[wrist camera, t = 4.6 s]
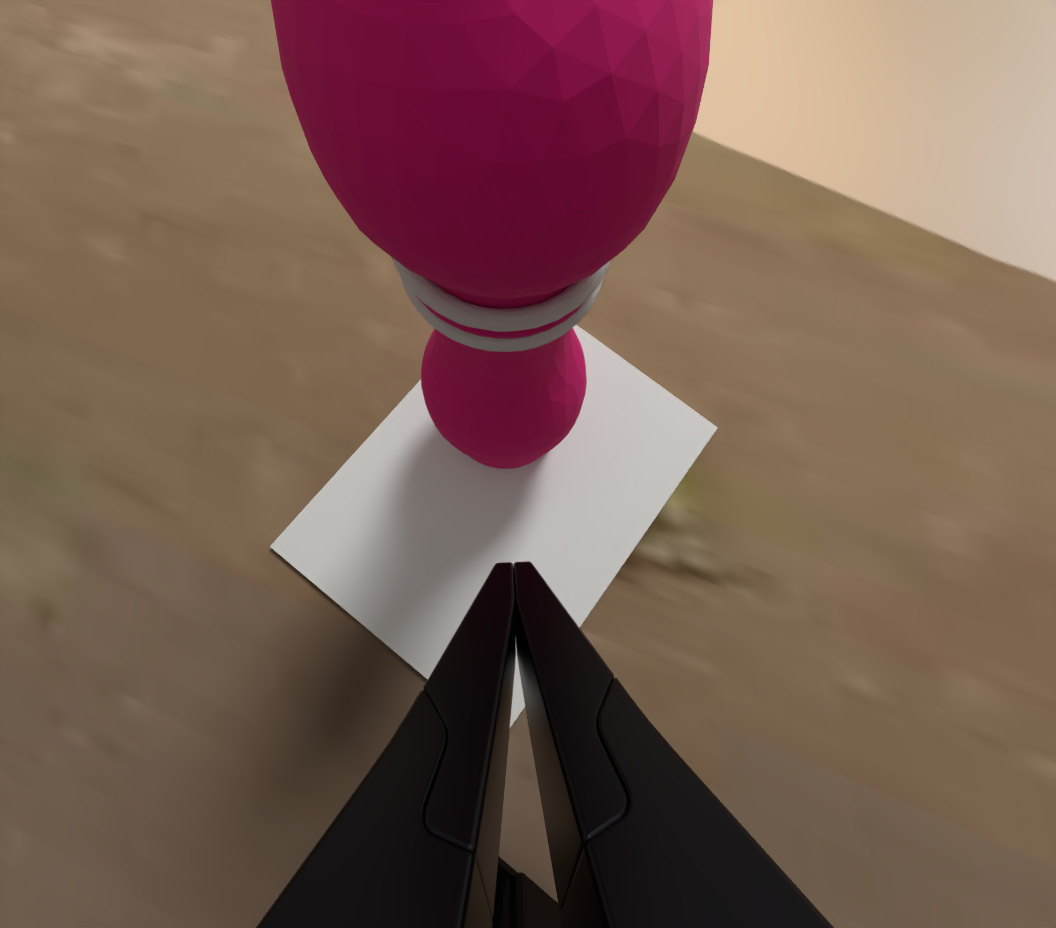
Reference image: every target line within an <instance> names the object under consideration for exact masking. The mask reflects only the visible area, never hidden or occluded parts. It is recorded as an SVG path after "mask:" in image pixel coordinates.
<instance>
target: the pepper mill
mask: <svg viewBox="0 0 1056 928" xmlns="http://www.w3.org/2000/svg"><path fill="white" fill-rule="evenodd" d="M271 4H272V10H273V16H274V22H275V28H276V35H277V41H278V47H279V53H280V59H281V66H282V70H283V73H284V76H285V79H286V83H287V86H288V89H289V93H290V96H291V99H292V102H293V104H294V107H295V110H296V112H297V115H298V118H299V121H300V123H301V126H302V129H303V131H304V134H305V137H306V139H307V142H308V145H309V147H310V150H311V152H312V154H313V156H314V158H315V160H316V162H317V164H318V166H319V168H320V170H321V172H322V174H323V176H324V178H325V179H326V181H327V182H328V184H329V186H330V187H331V189H332V191H333V192H334V194H335V195H336V197H337V199H338V200H339V201H340V203H341V204H342V206H343V207H344V208H345V210H346V211H347V213H348V214H349V216H350V217H351V218H352V220H353V221H354V223H355V224H356V225H357V227H358V228H359V230H360V231H361V232H363V233H364V234H365V235H366V236H367V237H368V238H369V239H370V240H371V241H372V242H373V243H375V244H376V245H377V246H378V247H380V248H381V249H382V250H384V251H385V252H386V253H387V254H389V255H390V256H391V257H392V259H393V261H394V264H395V266H396V268H397V270H398V271H399V273H400V276H401V279H402V283H403V286H404V289H405V291H406V293H407V295H408V296H409V298H410V300H411V302H412V303H413V305H414V306H415V307H416V309H417V310H418V312H419V313H420V314H421V315H422V316H423V317H424V318H425V319H426V320H427V322H428V323H429V324H431V325H432V326H433V327H434V328H435V329H434V331H433V332H432V334H431V336H430V338H429V341H428V343H427V345H426V348H425V352H424V356H423V361H422V369H421V387H422V392H423V396H424V400H425V404H426V407H427V410H428V412H429V415H430V417H431V419H432V421H433V423H434V425H435V427H436V428H437V429H438V431H439V432H440V433H441V435H442V436H443V437H444V438H445V439H446V440H447V441H448V442H449V443H450V444H451V445H452V446H454V447H455V448H457V449H458V450H460V451H461V452H463V453H464V454H466V455H468V456H470V457H471V458H472V459H474V460H475V461H477V462H479V463H481V464H483V465H486V466H489V467H493V468H500V469H510V468H517V467H522V466H524V465H527V464H530V463H532V462H533V461H535V460H537V459H538V458H540V457H541V456H542V455H543V454H545V453H547V452H549V451H550V450H551V449H553V448H554V447H555V446H557V445H558V444H559V443H560V442H561V441H562V440H563V439H564V438H565V437H566V436H567V435H568V434H569V432H570V431H571V429H572V428H573V426H574V425H575V423H576V420H577V418H578V416H579V414H580V411H581V407H582V404H583V401H584V397H585V393H586V384H587V377H586V365H585V357H584V353H583V349H582V346H581V343H580V341H579V339H578V337H577V335H576V333H575V331H574V329H573V327H574V326H575V325H576V324H578V323H579V322H580V321H581V320H582V318H583V317H584V316H585V315H586V314H587V312H588V311H589V310H590V308H591V307H592V305H593V303H594V301H595V299H596V298H597V296H598V293H599V290H600V288H601V285H602V280H603V277H604V275H605V274H606V272H607V269H608V267H609V264H610V261H611V259H613V258H614V257H615V256H616V255H618V254H619V253H620V252H621V251H623V250H624V249H625V248H626V247H627V246H628V245H629V244H630V243H631V242H632V241H633V240H634V239H635V238H636V237H637V236H638V235H639V234H640V233H641V232H642V231H643V230H644V229H645V227H646V225H647V224H648V222H649V220H650V219H651V217H652V216H653V214H654V212H655V211H656V209H657V207H658V206H659V204H660V203H661V201H662V199H663V198H664V196H665V194H666V193H667V191H668V190H669V188H670V186H671V185H672V183H673V181H674V180H675V177H676V174H677V172H678V169H679V166H680V163H681V161H682V158H683V155H684V153H685V150H686V147H687V144H688V142H689V139H690V136H691V134H692V131H693V128H694V125H695V123H696V119H697V114H698V110H699V106H700V101H701V96H702V92H703V88H704V83H705V79H706V74H707V70H708V65H709V52H710V37H711V22H712V8H713V0H271Z"/></svg>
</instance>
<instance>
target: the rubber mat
mask: <svg viewBox="0 0 1056 928" xmlns="http://www.w3.org/2000/svg"><path fill="white" fill-rule="evenodd" d="M573 329H574V331H575V333H576V335H577V337H578V339H579V341H580V343H581V346H582V349H583V353H584V357H585V365H586V377H587V384H586V393H585V397H584V401H583V404H582V407H581V411H580V414H579V416H578V418H577V420H576V423H575V425H574V426H573V428H572V429H571V431H570V432H569V434H568V435H567V436H566V437H565V438H564V439H563V440H562V441H561V442H560V443H559V444H558V445H557V446H555V447H554V448H553V449H551V450H550V451H549V452H547V453H545V454H543V455H542V456H541V457H540V458H538V459H537V460H535V461H533V462H532V463H530V464H527V465H524V466H522V467H517V468H510V469H500V468H493V467H489V466H486V465H483V464H481V463H479V462H477V461H475V460H474V459H472V458H471V457H470V456H468V455H466V454H464V453H463V452H461V451H460V450H458V449H457V448H455V447H454V446H452V445H451V444H450V443H449V442H448V441H447V440H446V439H445V438H444V437H443V436H442V435H441V433H440V432H439V431H438V429H437V428H436V427H435V425H434V423H433V421H432V419H431V417H430V415H429V412H428V410H427V407H426V404H425V400H424V396H423V392H422V387H421V380H420V381H419V382H418V383H417V384H416V385H415V386H414V388H413V389H412V390H411V391H410V392H409V393H408V394H407V395H406V396H405V398H404V399H403V400H402V401H401V402H400V403H399V404H398V405H397V406H396V408H395V409H394V410H393V411H392V412H391V413H390V414H389V415H388V416H387V417H386V419H385V420H384V421H383V422H382V423H381V424H380V425H379V426H378V427H377V429H376V430H375V431H374V432H373V433H372V434H371V435H370V436H369V437H368V439H367V440H366V441H365V442H364V443H363V444H362V445H361V446H360V447H359V448H358V450H357V451H356V452H355V453H354V454H353V455H352V456H351V457H350V458H349V460H348V461H347V462H346V463H345V464H344V465H343V466H342V467H341V468H340V469H339V471H338V472H337V473H336V474H335V475H334V476H333V477H332V478H331V479H330V481H329V482H328V483H327V484H326V485H325V486H324V487H323V488H322V489H321V491H320V492H319V493H318V494H317V495H316V496H315V497H314V498H313V499H312V500H311V502H310V503H309V504H308V505H307V506H306V507H305V508H304V509H303V510H302V512H301V513H300V514H299V515H298V516H297V517H296V518H295V519H294V520H293V522H292V523H291V524H290V525H289V526H288V527H287V528H286V529H285V530H284V531H283V533H282V534H281V535H280V536H279V537H278V538H277V539H276V540H275V541H274V543H273V544H272V545H271V546H270V547H271V548H272V549H273V550H274V551H276V552H277V553H278V554H279V555H280V556H282V557H283V558H284V559H285V560H286V561H288V562H289V563H290V564H291V565H292V566H293V567H295V568H296V569H297V570H298V571H299V572H301V573H302V574H303V575H304V576H305V577H307V578H308V579H309V580H310V581H311V582H312V583H314V584H315V585H316V586H317V587H318V588H320V589H321V590H322V591H323V592H324V593H326V594H327V595H328V596H329V597H330V598H331V599H333V600H334V601H335V602H336V603H337V604H339V605H340V606H341V607H342V608H343V609H344V610H346V611H347V612H348V613H349V614H350V615H352V616H353V617H354V618H355V619H356V620H358V621H359V622H360V623H361V624H362V625H363V626H365V627H366V628H367V629H368V630H369V631H371V632H372V633H373V634H374V635H375V636H377V637H378V638H379V639H380V640H381V641H382V642H384V643H385V644H386V645H387V646H388V647H390V648H391V649H392V650H393V651H394V652H396V653H397V654H398V655H399V656H400V657H401V658H403V659H404V660H405V661H406V662H407V663H409V664H410V665H411V666H412V667H413V668H414V669H416V670H417V671H418V672H419V673H420V674H422V675H423V676H424V677H425V678H426V679H428V678H429V677H430V675H431V673H432V671H433V670H434V668H435V666H436V665H437V663H438V661H439V659H440V658H441V656H442V654H443V653H444V651H445V649H446V647H447V646H448V644H449V642H450V640H451V639H452V637H453V635H454V634H455V632H456V630H457V628H458V627H459V625H460V623H461V622H462V620H463V618H464V616H465V615H466V613H467V611H468V610H469V608H470V606H471V604H472V603H473V601H474V599H475V598H476V596H477V594H478V592H479V591H480V589H481V587H482V585H483V584H484V582H485V580H486V579H487V577H488V575H489V573H490V572H491V570H492V568H493V567H494V565H495V564H496V563H502V562H511V563H513V568H514V563H515V562H525V561H530V562H531V563H532V564H533V565H534V566H535V568H536V569H537V570H538V572H539V573H540V575H541V576H542V577H543V579H544V580H545V581H546V583H547V584H548V585H549V587H550V588H551V590H552V591H553V592H554V594H555V595H556V596H557V598H558V599H559V601H560V602H561V603H562V605H563V606H564V607H565V609H566V610H567V611H568V613H569V614H570V616H571V617H572V618H573V620H574V621H575V622H576V624H577V625H578V627H579V628H580V626H581V625H582V623H583V622H584V620H585V619H586V617H587V616H588V615H589V613H590V612H591V610H592V609H593V607H594V606H595V604H596V603H597V602H598V600H599V599H600V597H601V596H602V594H603V593H604V591H605V590H606V589H607V587H608V586H609V584H610V583H611V581H612V580H613V578H614V577H615V575H616V574H617V573H618V571H619V570H620V568H621V567H622V565H623V564H624V562H625V561H626V560H627V558H628V557H629V555H630V554H631V552H632V551H633V549H634V548H635V547H636V545H637V544H638V542H639V541H640V539H641V538H642V536H643V535H644V534H645V532H646V531H647V529H648V528H649V526H650V525H651V523H652V522H653V521H654V519H655V518H656V516H657V515H658V513H659V512H660V510H661V509H662V508H663V506H664V505H665V503H666V502H667V500H668V499H669V497H670V496H671V495H672V493H673V492H674V490H675V489H676V487H677V486H678V484H679V483H680V481H681V480H682V479H683V477H684V476H685V474H686V473H687V471H688V470H689V468H690V467H691V466H692V464H693V463H694V461H695V460H696V458H697V457H698V455H699V454H700V453H701V451H702V450H703V448H704V447H705V445H706V444H707V442H708V441H709V440H710V438H711V437H712V435H713V434H714V432H715V431H716V429H717V427H716V426H715V425H713V424H712V423H711V422H709V421H708V420H706V419H705V418H704V417H702V416H701V415H700V414H698V413H697V412H695V411H694V410H693V409H691V408H690V407H689V406H687V405H686V404H684V403H683V402H682V401H680V400H679V399H678V398H676V397H675V396H673V395H672V394H671V393H669V392H668V391H667V390H665V389H664V388H662V387H661V386H660V385H658V384H657V383H656V382H654V381H653V380H651V379H650V378H649V377H647V376H646V375H645V374H643V373H642V372H640V371H639V370H638V369H636V368H635V367H634V366H632V365H631V364H629V363H628V362H627V361H625V360H624V359H623V358H621V357H620V356H618V355H617V354H616V353H614V352H613V351H612V350H610V349H609V348H608V347H606V346H605V345H603V344H602V343H601V342H599V341H598V340H597V339H595V338H594V337H592V336H591V335H590V334H588V333H587V332H586V331H584V330H583V329H581V328H580V327H579V326H577V325H575V326H574V327H573ZM524 707H525V702H524V696H523V690H522V684H521V678H520V672H519V666H518V659H517V650H516V661H515V673H514V685H513V696H512V708H511V719H510V727H511V726H512V724H513V723H514V722H515V720H516V719H517V717H518V716H519V714H520V713H521V711H522V710H523V709H524Z"/></svg>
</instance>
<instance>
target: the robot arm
mask: <svg viewBox="0 0 1056 928" xmlns="http://www.w3.org/2000/svg"><path fill="white" fill-rule="evenodd" d="M516 650H517V659H518V666H519V672H520V678H521V684H522V690H523V696H524V702H525V708H526V714H527V720H528V726H529V731H530V737H531V743H532V749H533V755H534V761H535V767H536V773H537V779H538V785H539V791H540V797H541V803H542V809H543V815H544V820H545V826H546V832H547V838H548V844H549V850H550V856H551V862H552V868H553V874H554V880H555V886H556V892H557V898H558V903H557V902H556V901H555V900H554V899H552V898H551V897H550V896H549V895H548V894H547V893H546V892H544V891H543V890H542V889H541V888H540V887H539V886H538V885H536V884H535V883H534V882H533V881H532V880H531V879H529V878H528V877H527V876H526V875H525V874H524V873H519V872H516V871H515V870H514V869H513V868H512V867H510V866H509V865H508V864H507V863H506V862H505V861H503V860H502V859H501V858H500V857H499V844H500V833H501V821H502V810H503V799H504V787H505V776H506V765H507V753H508V742H509V730H510V719H511V708H512V696H513V685H514V673H515V661H516ZM256 928H834V927H833V926H832V925H831V924H830V923H829V922H828V921H827V919H826V918H825V917H824V916H823V915H822V914H821V913H820V912H819V911H818V909H817V908H816V907H815V906H814V905H813V904H812V903H811V902H810V901H809V899H808V898H807V897H806V896H805V895H804V894H803V893H802V892H801V891H800V889H799V888H798V887H797V886H796V885H795V884H794V883H793V882H792V881H791V879H790V878H789V877H788V876H787V875H786V874H785V873H784V872H783V871H782V869H781V868H780V867H779V866H778V865H777V864H776V863H775V862H774V861H773V859H772V858H771V857H770V856H769V855H768V854H767V853H766V852H765V850H764V849H763V848H762V847H761V846H760V845H759V844H758V843H757V842H756V840H755V839H754V838H753V837H752V836H751V835H750V834H749V833H748V832H747V830H746V829H745V828H744V827H743V826H742V825H741V824H740V823H739V822H738V820H737V819H736V818H735V817H734V816H733V815H732V814H731V813H730V812H729V810H728V809H727V808H726V807H725V806H724V805H723V804H722V803H721V802H720V800H719V799H718V798H717V797H716V796H715V795H714V794H713V793H712V792H711V790H710V789H709V788H708V787H707V786H706V785H705V784H704V783H703V782H702V780H701V779H700V778H699V777H698V776H697V775H696V774H695V773H694V771H693V770H692V769H691V768H690V767H689V766H688V765H687V764H686V763H685V761H684V760H683V759H682V758H681V757H680V756H679V755H678V754H677V753H676V751H675V750H674V749H673V748H672V747H671V746H670V745H669V743H668V742H667V741H666V740H665V739H664V738H663V736H662V735H661V734H660V733H659V732H658V731H657V729H656V728H655V727H654V726H653V725H652V724H651V722H650V721H649V720H648V719H647V717H646V716H645V715H644V714H643V712H642V711H641V710H640V708H639V707H638V706H637V705H636V703H635V702H634V701H633V699H632V698H631V697H630V696H629V694H628V693H627V691H626V690H625V689H624V687H623V686H622V685H621V683H620V682H619V680H618V679H617V678H614V675H613V673H612V672H611V670H610V669H609V668H608V666H607V665H606V664H605V662H604V661H603V659H602V658H601V657H600V655H599V654H598V653H597V651H596V650H595V648H594V647H593V646H592V644H591V643H590V642H589V640H588V639H587V637H586V636H585V635H584V633H583V632H582V631H581V629H580V628H579V627H578V625H577V624H576V622H575V621H574V620H573V618H572V617H571V616H570V614H569V613H568V611H567V610H566V609H565V607H564V606H563V605H562V603H561V602H560V601H559V599H558V598H557V596H556V595H555V594H554V592H553V591H552V590H551V588H550V587H549V585H548V584H547V583H546V581H545V580H544V579H543V577H542V576H541V575H540V573H539V572H538V570H537V569H536V568H535V566H534V565H533V564H532V563H531V562H530V561H525V562H515V563H514V568H513V563H511V562H502V563H496V564H495V565H494V567H493V568H492V570H491V572H490V573H489V575H488V577H487V579H486V580H485V582H484V584H483V585H482V587H481V589H480V591H479V592H478V594H477V596H476V598H475V599H474V601H473V603H472V604H471V606H470V608H469V610H468V611H467V613H466V615H465V616H464V618H463V620H462V622H461V623H460V625H459V627H458V628H457V630H456V632H455V634H454V635H453V637H452V639H451V640H450V642H449V644H448V646H447V647H446V649H445V651H444V653H443V654H442V656H441V658H440V659H439V661H438V663H437V665H436V666H435V668H434V670H433V671H432V673H431V675H430V677H429V678H428V680H427V682H426V683H425V685H424V690H421V691H420V693H419V695H418V696H417V698H416V700H415V701H414V703H413V705H412V707H411V708H410V710H409V712H408V713H407V715H406V716H405V718H404V720H403V721H402V723H401V724H400V726H399V728H398V729H397V731H396V733H395V734H394V736H393V737H392V739H391V740H390V742H389V743H388V745H387V746H386V748H385V749H384V751H383V752H382V753H381V755H380V756H379V758H378V759H377V761H376V762H375V764H374V765H373V766H372V768H371V769H370V771H369V772H368V774H367V775H366V776H365V778H364V779H363V781H362V782H361V783H360V785H359V786H358V788H357V789H356V790H355V792H354V793H353V794H352V796H351V797H350V799H349V800H348V801H347V803H346V804H345V805H344V807H343V808H342V810H341V811H340V812H339V814H338V815H337V817H336V818H335V819H334V821H333V822H332V823H331V825H330V826H329V828H328V829H327V830H326V832H325V833H324V834H323V836H322V837H321V839H320V840H319V841H318V843H317V844H316V846H315V847H314V848H313V850H312V851H311V852H310V854H309V855H308V857H307V858H306V859H305V861H304V862H303V863H302V865H301V866H300V868H299V869H298V870H297V872H296V873H295V875H294V876H293V877H292V879H291V880H290V881H289V883H288V884H287V886H286V887H285V888H284V890H283V891H282V893H281V894H280V895H279V897H278V898H277V899H276V901H275V902H274V904H273V905H272V906H271V908H270V909H269V910H268V912H267V913H266V915H265V916H264V917H263V919H262V920H261V922H260V923H259V924H258V926H257V927H256Z"/></svg>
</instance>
